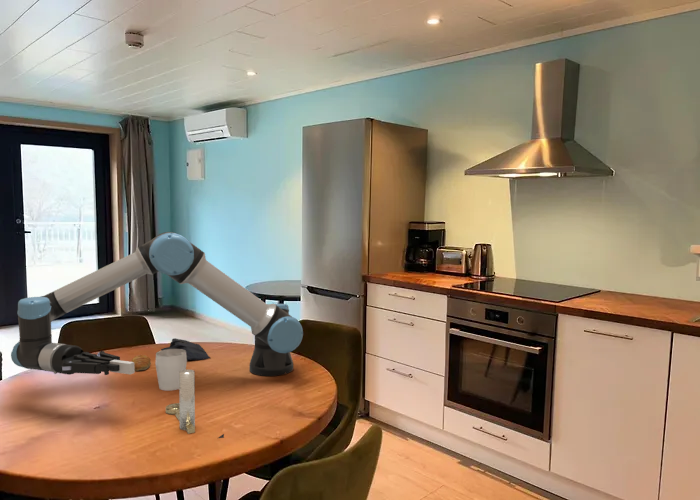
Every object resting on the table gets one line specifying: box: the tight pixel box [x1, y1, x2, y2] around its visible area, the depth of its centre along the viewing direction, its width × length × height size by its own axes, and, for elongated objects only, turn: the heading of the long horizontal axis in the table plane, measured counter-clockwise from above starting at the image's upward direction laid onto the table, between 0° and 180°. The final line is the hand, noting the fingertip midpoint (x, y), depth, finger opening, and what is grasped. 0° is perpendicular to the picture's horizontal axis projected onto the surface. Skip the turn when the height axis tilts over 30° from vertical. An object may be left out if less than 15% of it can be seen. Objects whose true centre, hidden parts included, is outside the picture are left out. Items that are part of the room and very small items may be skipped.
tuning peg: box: [165, 369, 196, 435], centre depth 132 cm, size 18×5×14 cm, turn 32°
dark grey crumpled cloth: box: [160, 338, 211, 361], centre depth 197 cm, size 15×22×5 cm
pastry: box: [130, 354, 152, 372], centre depth 180 cm, size 9×7×4 cm
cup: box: [154, 349, 188, 392], centre depth 156 cm, size 9×9×12 cm
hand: (132, 368), depth 129 cm, fingers closed
